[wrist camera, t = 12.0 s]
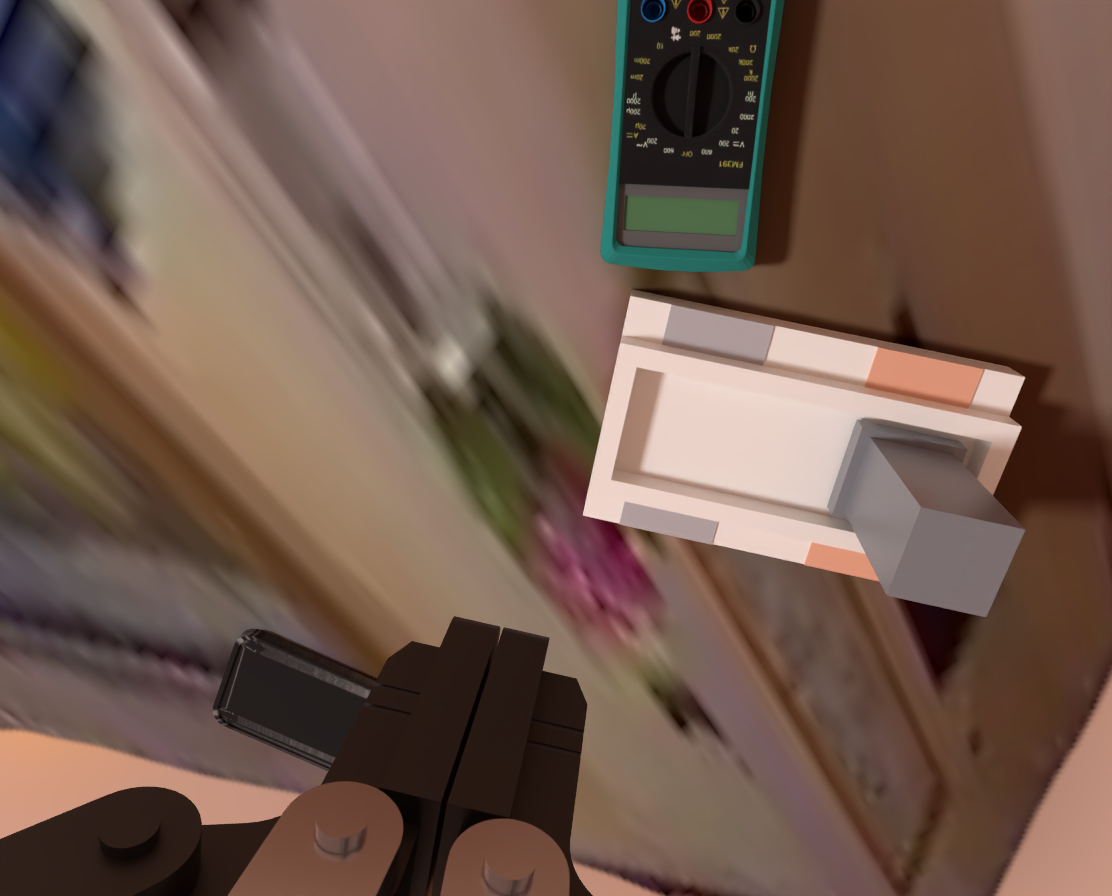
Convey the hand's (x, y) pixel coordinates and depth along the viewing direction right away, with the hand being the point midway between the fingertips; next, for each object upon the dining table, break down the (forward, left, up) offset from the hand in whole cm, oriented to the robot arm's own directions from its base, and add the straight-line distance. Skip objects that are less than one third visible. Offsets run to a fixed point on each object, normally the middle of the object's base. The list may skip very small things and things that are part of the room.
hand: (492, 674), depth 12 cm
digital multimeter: (-10, +2, -32) cm, 33 cm away
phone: (+30, -12, -32) cm, 45 cm away
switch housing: (+5, +11, -31) cm, 33 cm away
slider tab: (+5, +16, -29) cm, 33 cm away
